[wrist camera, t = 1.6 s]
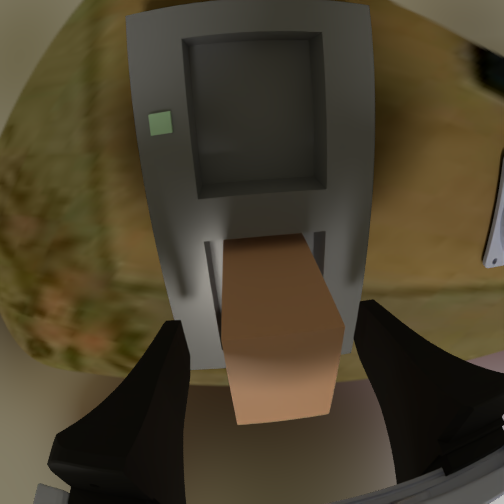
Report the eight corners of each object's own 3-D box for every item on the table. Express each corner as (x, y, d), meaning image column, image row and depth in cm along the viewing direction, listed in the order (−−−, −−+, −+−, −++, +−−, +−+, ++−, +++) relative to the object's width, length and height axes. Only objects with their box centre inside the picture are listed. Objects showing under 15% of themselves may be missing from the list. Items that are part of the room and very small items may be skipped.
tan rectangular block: (299, 228, 15) (345, 326, 9) (298, 308, 17) (328, 413, 11) (223, 234, 15) (221, 340, 9) (233, 314, 17) (237, 424, 11)
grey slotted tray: (347, 17, 11) (371, 4, 8) (339, 324, 19) (351, 355, 16) (142, 27, 10) (124, 15, 8) (192, 339, 19) (188, 372, 16)
